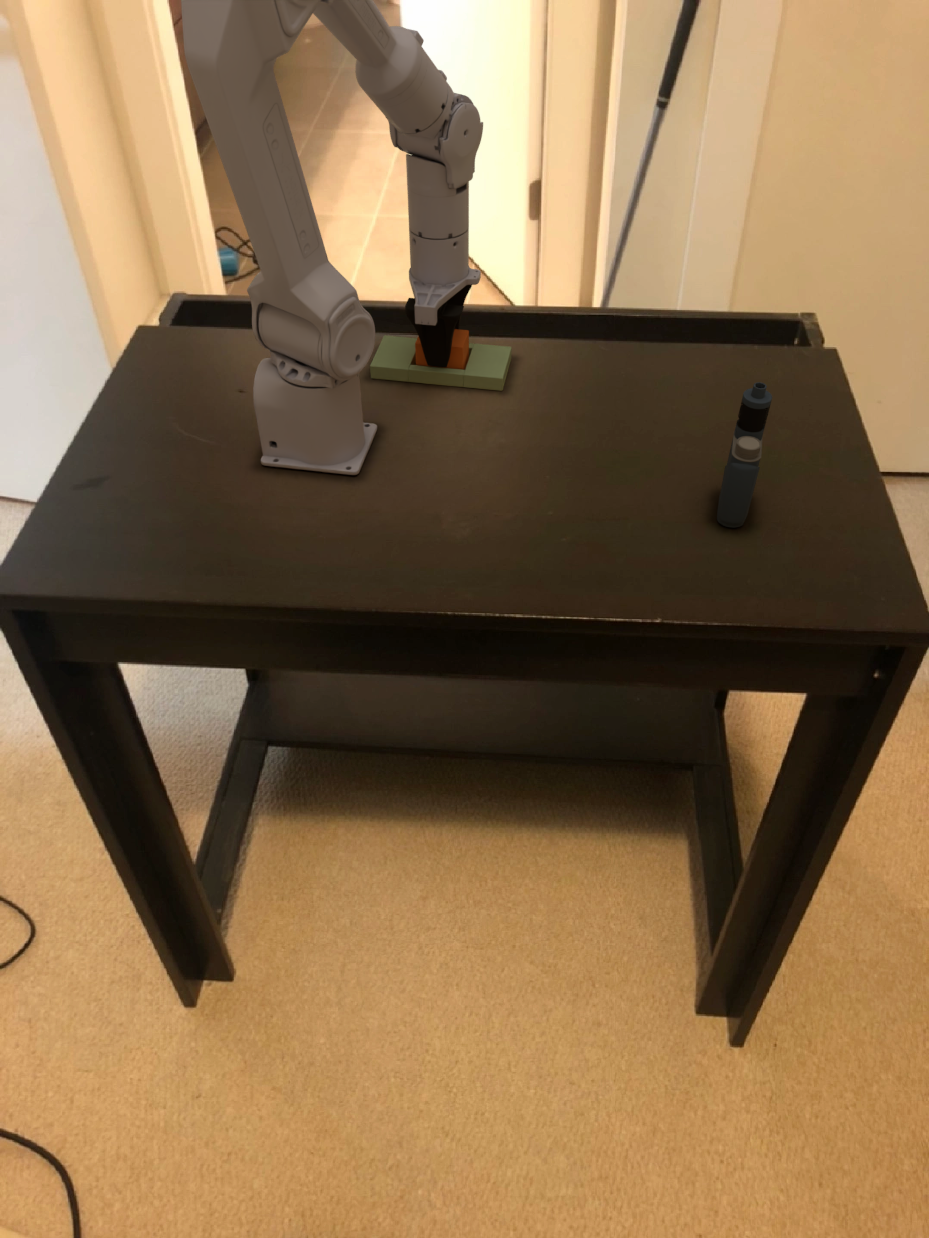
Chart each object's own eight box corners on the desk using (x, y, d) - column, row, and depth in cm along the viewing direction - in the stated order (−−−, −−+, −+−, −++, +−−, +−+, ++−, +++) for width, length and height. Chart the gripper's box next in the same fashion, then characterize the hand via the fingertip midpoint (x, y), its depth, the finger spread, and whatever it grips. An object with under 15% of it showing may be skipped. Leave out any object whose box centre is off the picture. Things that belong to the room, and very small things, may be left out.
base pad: (370, 378, 103) (369, 365, 102) (384, 347, 108) (383, 335, 106) (502, 391, 101) (502, 378, 100) (511, 359, 106) (511, 346, 105)
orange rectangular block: (416, 373, 103) (414, 343, 101) (423, 355, 106) (422, 326, 103) (462, 377, 103) (462, 347, 100) (468, 359, 105) (468, 330, 103)
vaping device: (747, 495, 89) (776, 379, 81) (744, 532, 86) (774, 414, 77) (718, 491, 90) (744, 375, 81) (714, 527, 86) (741, 410, 77)
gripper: (466, 264, 88) (466, 395, 98) (492, 199, 98) (489, 324, 108) (390, 258, 89) (397, 388, 99) (423, 194, 99) (427, 318, 109)
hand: (441, 354), depth 103 cm, fingers closed on orange rectangular block, 3 cm apart
